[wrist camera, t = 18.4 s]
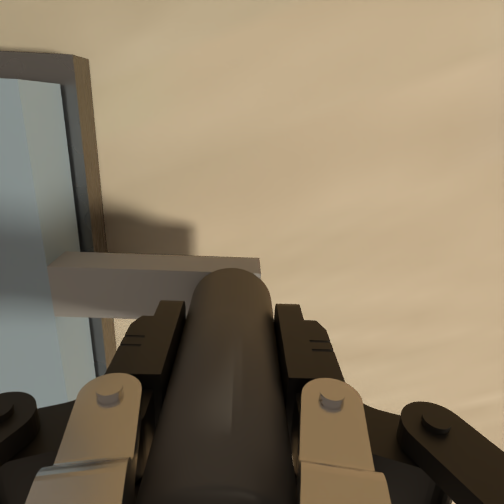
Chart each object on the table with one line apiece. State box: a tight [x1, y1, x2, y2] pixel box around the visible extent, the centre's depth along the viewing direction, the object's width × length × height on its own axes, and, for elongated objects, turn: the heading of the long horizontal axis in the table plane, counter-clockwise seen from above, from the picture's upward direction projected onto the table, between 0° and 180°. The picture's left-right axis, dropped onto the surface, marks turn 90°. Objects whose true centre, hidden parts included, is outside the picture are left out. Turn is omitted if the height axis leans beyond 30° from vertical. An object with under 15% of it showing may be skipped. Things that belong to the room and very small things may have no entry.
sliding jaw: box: [0, 78, 296, 504], centre depth 11 cm, size 11×14×11 cm
